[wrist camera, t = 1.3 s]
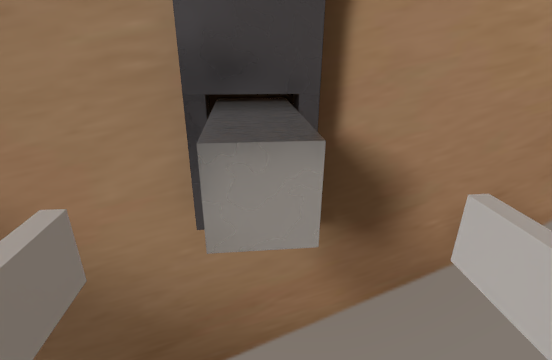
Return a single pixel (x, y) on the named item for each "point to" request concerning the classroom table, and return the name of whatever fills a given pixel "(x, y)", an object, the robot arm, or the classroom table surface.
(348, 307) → the classroom table surface
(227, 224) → the square gray post
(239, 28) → the peg insertion base
